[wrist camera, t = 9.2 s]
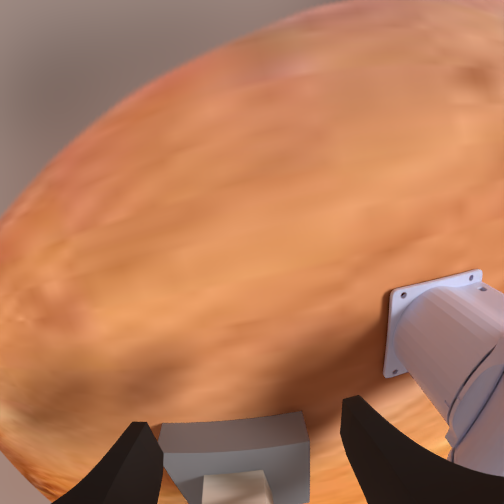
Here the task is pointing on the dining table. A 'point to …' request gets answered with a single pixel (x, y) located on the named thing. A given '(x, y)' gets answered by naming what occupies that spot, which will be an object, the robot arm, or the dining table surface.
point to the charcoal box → (240, 454)
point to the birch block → (237, 488)
